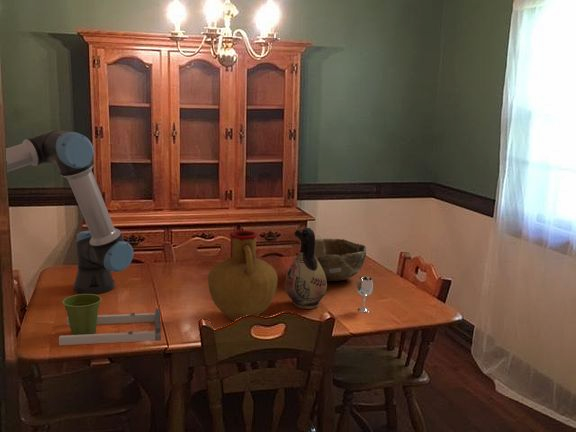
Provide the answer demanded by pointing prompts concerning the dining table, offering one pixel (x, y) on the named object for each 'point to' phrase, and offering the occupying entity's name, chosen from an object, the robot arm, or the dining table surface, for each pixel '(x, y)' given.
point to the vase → (242, 279)
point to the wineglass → (364, 290)
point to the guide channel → (117, 337)
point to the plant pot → (82, 313)
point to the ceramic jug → (306, 274)
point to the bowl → (339, 258)
